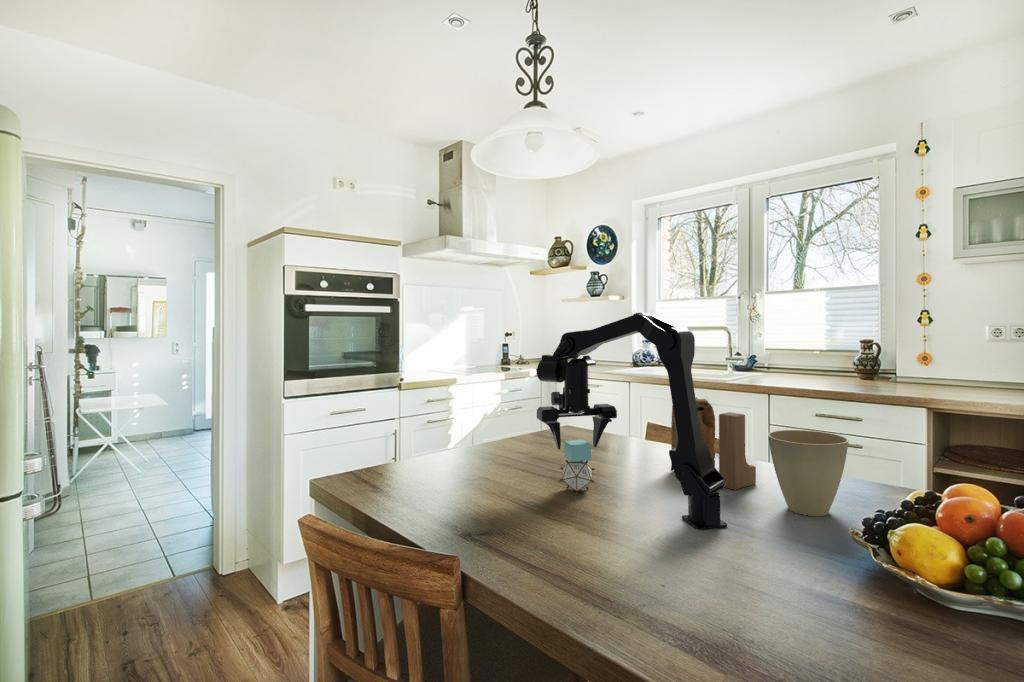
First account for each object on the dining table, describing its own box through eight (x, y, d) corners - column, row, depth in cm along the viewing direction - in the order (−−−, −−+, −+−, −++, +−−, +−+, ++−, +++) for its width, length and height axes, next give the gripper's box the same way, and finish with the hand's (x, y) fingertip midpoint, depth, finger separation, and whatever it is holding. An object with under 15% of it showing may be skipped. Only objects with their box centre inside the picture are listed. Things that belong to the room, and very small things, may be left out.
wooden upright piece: (668, 470, 141) (668, 398, 141) (684, 465, 146) (684, 395, 145) (704, 479, 132) (703, 402, 132) (720, 473, 137) (719, 399, 137)
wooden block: (739, 479, 132) (739, 410, 131) (756, 484, 128) (756, 412, 127) (718, 486, 127) (718, 413, 126) (735, 490, 123) (734, 416, 122)
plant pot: (804, 495, 119) (804, 427, 118) (866, 518, 104) (866, 440, 104) (752, 503, 114) (752, 432, 114) (809, 527, 100) (809, 446, 99)
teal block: (590, 460, 122) (590, 443, 122) (570, 461, 121) (570, 445, 121) (583, 455, 127) (583, 439, 127) (564, 456, 126) (564, 440, 126)
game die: (574, 503, 126) (575, 464, 132) (602, 497, 121) (602, 457, 127) (550, 492, 121) (552, 452, 127) (579, 486, 116) (580, 445, 122)
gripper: (600, 379, 133) (600, 438, 134) (530, 381, 130) (531, 443, 130) (617, 383, 123) (618, 448, 123) (542, 386, 119) (543, 453, 119)
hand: (576, 448), depth 124 cm, fingers open, 9 cm apart
